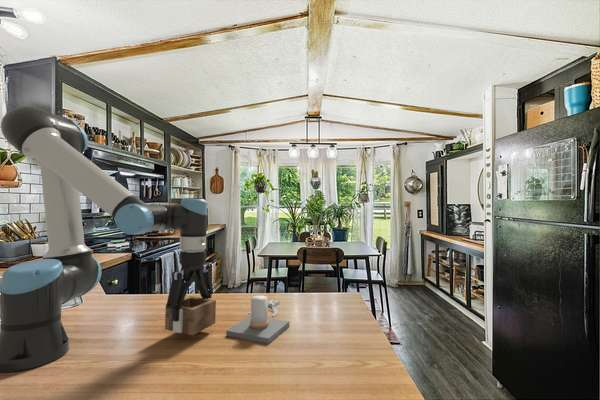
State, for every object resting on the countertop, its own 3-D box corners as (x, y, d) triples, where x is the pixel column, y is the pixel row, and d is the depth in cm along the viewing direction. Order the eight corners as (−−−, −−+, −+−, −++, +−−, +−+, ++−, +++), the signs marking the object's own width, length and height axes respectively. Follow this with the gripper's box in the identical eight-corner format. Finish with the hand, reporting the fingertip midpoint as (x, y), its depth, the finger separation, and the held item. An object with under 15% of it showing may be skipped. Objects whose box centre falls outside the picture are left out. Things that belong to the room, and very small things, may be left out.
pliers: (247, 310, 111) (263, 298, 126) (247, 315, 111) (263, 302, 126) (273, 313, 109) (287, 300, 123) (273, 318, 109) (287, 305, 123)
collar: (192, 335, 87) (193, 310, 87) (164, 329, 91) (165, 304, 91) (215, 323, 97) (215, 300, 97) (189, 318, 100) (190, 296, 100)
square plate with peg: (268, 343, 87) (268, 307, 88) (226, 335, 93) (226, 301, 93) (289, 326, 100) (289, 294, 101) (251, 319, 106) (251, 289, 106)
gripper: (174, 256, 82) (171, 342, 82) (226, 246, 103) (224, 315, 103) (152, 254, 85) (150, 337, 85) (207, 245, 106) (205, 311, 106)
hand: (190, 325), depth 94 cm, fingers closed on collar, 10 cm apart
